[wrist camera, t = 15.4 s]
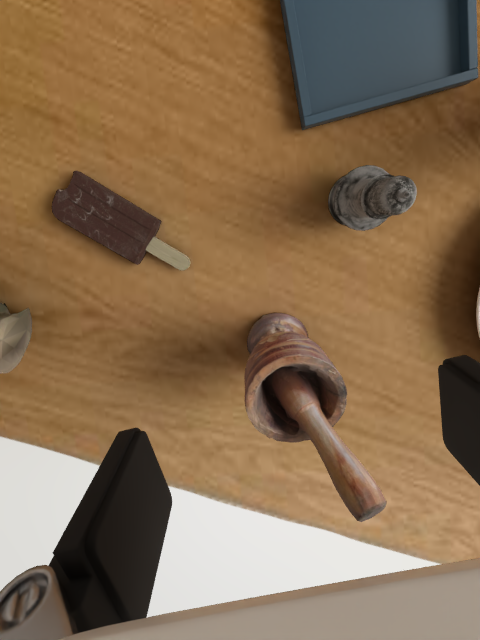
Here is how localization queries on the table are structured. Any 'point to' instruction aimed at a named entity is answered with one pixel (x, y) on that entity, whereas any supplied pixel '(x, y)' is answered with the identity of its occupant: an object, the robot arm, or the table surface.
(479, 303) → the dinner plate
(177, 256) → the ice cream bar
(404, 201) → the stone chess piece
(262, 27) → the table surface
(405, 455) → the table surface
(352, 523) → the table surface
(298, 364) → the mortar and pestle
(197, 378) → the table surface
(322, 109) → the blue tray
